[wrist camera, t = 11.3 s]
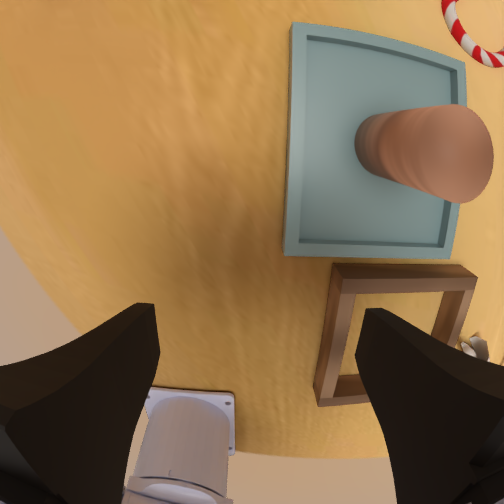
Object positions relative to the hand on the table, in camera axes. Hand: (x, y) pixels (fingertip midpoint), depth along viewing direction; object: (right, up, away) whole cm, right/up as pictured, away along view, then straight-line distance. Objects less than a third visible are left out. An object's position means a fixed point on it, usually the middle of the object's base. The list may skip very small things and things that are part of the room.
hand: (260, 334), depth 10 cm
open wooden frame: (+10, -3, +12) cm, 16 cm away
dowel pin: (+8, +9, +7) cm, 14 cm away
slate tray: (+8, +9, +8) cm, 14 cm away
